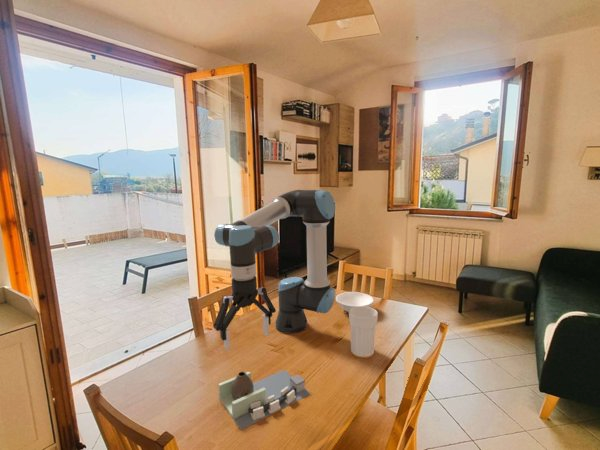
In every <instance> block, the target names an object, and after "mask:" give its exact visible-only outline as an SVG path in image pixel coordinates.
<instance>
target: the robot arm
mask: <svg viewBox="0 0 600 450" xmlns="http://www.w3.org/2000/svg"><path fill="white" fill-rule="evenodd" d="M335 211H336V203H335V198H334V196H333V195H332V193H331V192H330V191H328V190H323V189H295V190H291V191H287V192H285V193H283V194H281V195H278V196H276V197H275V198H273V199H272V200H271V202H270V203H268V204H267V205H265V206H261V208H259V209H257V210H254V212H251V213H250V214H248V215H246V216H244V217H242V218H240V219H238V220H236V221H234V222H232V223H229V224H228V223H221V224H219V225H217V227H216V228H215V230H214V239H215V242H216V243H217V244H218V245H220V246H225V247H228V248H229V256H230V278H231V290H232V291H231V292H232V293H231V295H230V296H229V295H228V296H226V295H222V297H221V305H220V308H219V310H218V312H217V316H216V318H215V320H214V323H213V326H212V327H213V328H214V329H215V330H216V331H217V332H219V334H220V339H221V340H222V341H223V348H224V349H225V350H226V351H227V352H230V351H231V346H230V344H231V343H230V329H228V328H229V325H230V324H231V323H232V321H233V319H234V317H235V316H236V314H237V313H238V311H240V310H241V308H242V309H244V308H246V307H250V306H252V305H255V306H256V307H257V308H259V310H261V312H262V313H264V314H261V317H262V333H263V335H265V336H266V337H270V325H271V322H272V319H271V318H272V317H273V314H274V313H276V311H277V309H276V307H275V306H274V304H273V303H272V301H271V299H270V297H269V295H268V293H267V288H265V287H264V286H262V285H260V286H259V287H258V284H257V261H256V259H257V258H256V255H257V254H259V253H262V252H265V251H267V250H271V249H272V248H274V247H275V246H277V245H278V243H279V241H280V235H279V232H278V230H277V229H276V227H275V226H272V225H273V224H275V222H277V221H278V220H283V219H286V218H289V217H301V218H302V223H303V224H304V225H305V226H306V266H307V267H306V268H307V269H306V271H307V275H306V276H307V278H306V279H305V280H304V278H303V277H299V276H291V277H286V278H284V279H281V280H280V281H279V282H278V290H277V291H278V292H277V293H278V311H277V316H276V320H275V329H276V330H277V331H279V332H281V333H284V334H297V333H301V332H304V331H306V329H307V328H308V319H307V316H306V313H305V310H306V311H310V312H316V313H318V314H319V313H320V314H327V313H328V312H330V310H331V309H332V307H333V306H334V303H335V301H336V290H335V288H334V287H333V286H332V287H331V281H330V279H328V276H327V275H328V271H327V269H328V265H327V264H328V263H327V262H328V261H327V259H328V258H327V256H328V255H327V254H328V253H327V250H328V249H327V226H328V225H329V224H330V222H331V219H332V218H334V216H335ZM257 287H258V288H257ZM258 295H260V296H261V299H262V300H263V301H264V303H265V305H266V307H267V308H268V309H267V308H266V307H265V306H264V305H263V304H262V303H261V302H260V301H259V300H258V299H257V297H258ZM230 304H231V305H230ZM229 307H230V308H229Z"/></svg>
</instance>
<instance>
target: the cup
mask: <svg viewBox="0 0 600 450" xmlns="http://www.w3.org/2000/svg"><path fill="white" fill-rule="evenodd" d="M378 316H379V313H378V311H377V310H376V308H373V307H371V306H370V307H366V306H356V307H353V308H351V309H350V310H349V312H348V322H349V324H350V353H351V355H353V356H354V358H355V357H356V358H358V359H363V358H364V359H365V358H366V359H370V358H372V357H373V356H374V353H375V352H374V351H375V349H374V348H375V333H376V326H377V325H378ZM366 359H365V360H366Z"/></svg>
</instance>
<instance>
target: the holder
mask: <svg viewBox="0 0 600 450" xmlns="http://www.w3.org/2000/svg"><path fill="white" fill-rule="evenodd" d="M245 373H246V375H247V376H248V377H250V379H251V380H252V377H251V376H252V375H251V372H250V371H246V372H245ZM236 377H237V376H234V377H232V378H229V379H227V380H225V381H222V382H220V383H218V399H219V398H220V399H219V400H221V401H222V402H221V401H220V402H221V403H223V404H224V405H223V404H222V405H223V406H224V408H225V407H226V408H225V409H226V411H227V410H228V411H229V412H228V411H227V412H228V413H230V414H231V415H230V414H229V415H230V417H231V418H232V417H233V418H232V419H233V421H234V420H235V419H237V418H239V417H241V416H243V415H245V414H247V413H249V408H250V404H251V403H254V402H257V401H260V402H261V406H263V405H265V399H266V389H265V388H261V389H259V390H257V391H256V390H255V389H254V390H253V393H250V394H248V395H246V396H244V397H242V398H239V399H237V400H234V399H233V397H232V393H231V387H232V383H233V381H234V379H235V378H236Z"/></svg>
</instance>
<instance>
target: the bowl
mask: <svg viewBox="0 0 600 450" xmlns="http://www.w3.org/2000/svg"><path fill="white" fill-rule="evenodd" d="M335 301H336V304H337V305H338V306H339V307H341V308H343V310H345V312H347V313H349V310H350V309H351V308H353V307H356V306H366V307H370V308H371V307H372V305H373V303H374V297H373V296H371V295H369V294H367V293H364V292H359V291H346V292H341V293H339V294H337V295H335Z"/></svg>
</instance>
